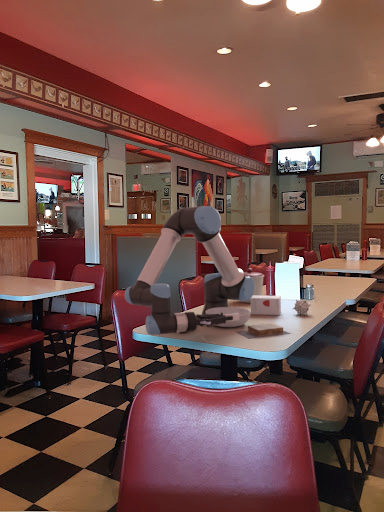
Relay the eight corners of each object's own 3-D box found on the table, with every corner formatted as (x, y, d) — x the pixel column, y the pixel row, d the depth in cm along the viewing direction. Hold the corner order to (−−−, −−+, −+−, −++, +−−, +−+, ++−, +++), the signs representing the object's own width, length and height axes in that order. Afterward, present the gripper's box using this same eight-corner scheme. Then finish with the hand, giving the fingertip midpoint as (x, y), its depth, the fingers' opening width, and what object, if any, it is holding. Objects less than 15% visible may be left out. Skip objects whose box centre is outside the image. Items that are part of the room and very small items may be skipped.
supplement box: (250, 297, 214) (279, 298, 209) (252, 295, 222) (280, 295, 218) (250, 314, 214) (279, 315, 210) (253, 311, 223) (281, 312, 218)
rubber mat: (248, 339, 164) (248, 338, 164) (234, 332, 176) (234, 331, 176) (291, 334, 171) (291, 333, 171) (274, 328, 183) (274, 327, 183)
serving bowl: (214, 332, 177) (214, 317, 176) (200, 322, 197) (199, 308, 196) (258, 328, 182) (258, 313, 182) (240, 319, 203) (239, 305, 202)
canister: (252, 305, 241) (251, 269, 240) (229, 302, 254) (228, 268, 253) (270, 301, 253) (270, 267, 252) (248, 298, 266) (247, 266, 265)
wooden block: (258, 330, 168) (283, 327, 172) (247, 325, 176) (272, 323, 180) (258, 336, 168) (283, 333, 172) (247, 331, 176) (272, 328, 180)
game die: (298, 322, 211) (287, 307, 210) (302, 313, 218) (290, 299, 217) (313, 315, 205) (301, 300, 205) (316, 306, 212) (304, 291, 212)
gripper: (180, 327, 168) (231, 322, 176) (190, 335, 155) (245, 328, 163) (179, 309, 167) (231, 305, 175) (190, 315, 155) (245, 310, 163)
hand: (238, 316), depth 169 cm, fingers closed
